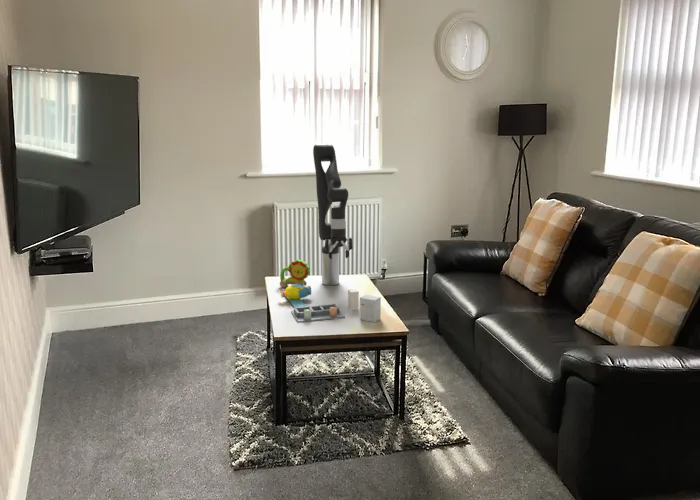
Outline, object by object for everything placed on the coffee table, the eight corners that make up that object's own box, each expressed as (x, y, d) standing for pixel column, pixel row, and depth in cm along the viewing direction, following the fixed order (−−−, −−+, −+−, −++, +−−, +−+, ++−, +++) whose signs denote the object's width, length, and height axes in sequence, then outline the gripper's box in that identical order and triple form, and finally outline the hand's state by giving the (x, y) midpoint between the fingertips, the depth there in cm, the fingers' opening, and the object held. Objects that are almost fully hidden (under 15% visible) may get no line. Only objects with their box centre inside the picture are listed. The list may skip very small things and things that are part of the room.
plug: (348, 307, 299) (348, 289, 297) (355, 307, 300) (356, 289, 298) (350, 310, 295) (350, 292, 293) (358, 309, 296) (358, 291, 294)
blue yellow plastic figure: (273, 278, 318) (302, 274, 323) (274, 294, 320) (302, 290, 325) (288, 293, 292) (318, 290, 298) (288, 311, 295) (319, 307, 300)
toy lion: (279, 287, 330) (278, 259, 327) (282, 284, 336) (282, 257, 332) (307, 289, 327) (307, 261, 323) (311, 286, 332) (310, 259, 328)
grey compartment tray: (291, 312, 292) (290, 302, 291) (336, 307, 299) (336, 298, 298) (297, 322, 279) (297, 312, 278) (344, 317, 285) (344, 308, 284)
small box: (380, 319, 284) (381, 297, 282) (374, 322, 279) (375, 300, 277) (365, 315, 288) (365, 294, 286) (359, 319, 283) (359, 297, 281)
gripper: (349, 225, 323) (349, 256, 326) (322, 226, 319) (323, 258, 322) (353, 227, 316) (354, 258, 319) (326, 229, 311) (327, 260, 315)
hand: (338, 258), depth 320 cm, fingers open, 8 cm apart
